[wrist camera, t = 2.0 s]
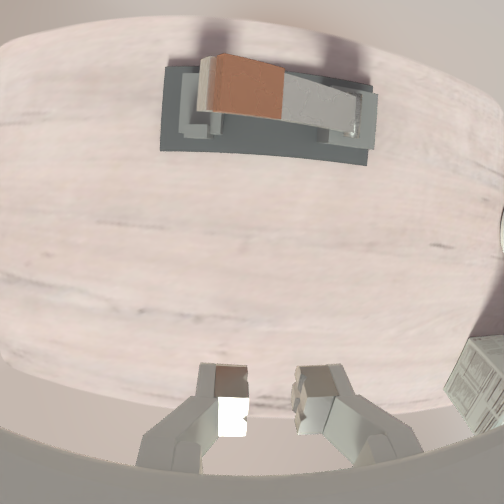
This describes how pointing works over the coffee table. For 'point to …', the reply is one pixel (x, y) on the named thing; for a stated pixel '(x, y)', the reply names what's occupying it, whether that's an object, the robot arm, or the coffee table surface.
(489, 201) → the coffee table surface
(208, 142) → the base
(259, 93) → the bar
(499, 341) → the supplement box
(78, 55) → the coffee table surface
